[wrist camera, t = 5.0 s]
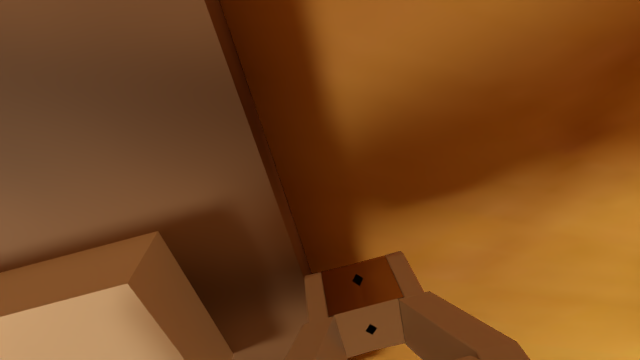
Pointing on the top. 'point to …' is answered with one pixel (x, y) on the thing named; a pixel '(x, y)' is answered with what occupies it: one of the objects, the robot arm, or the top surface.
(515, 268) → the top surface
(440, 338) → the robot arm
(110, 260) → the tile
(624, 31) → the top surface
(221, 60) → the brown wooden board
